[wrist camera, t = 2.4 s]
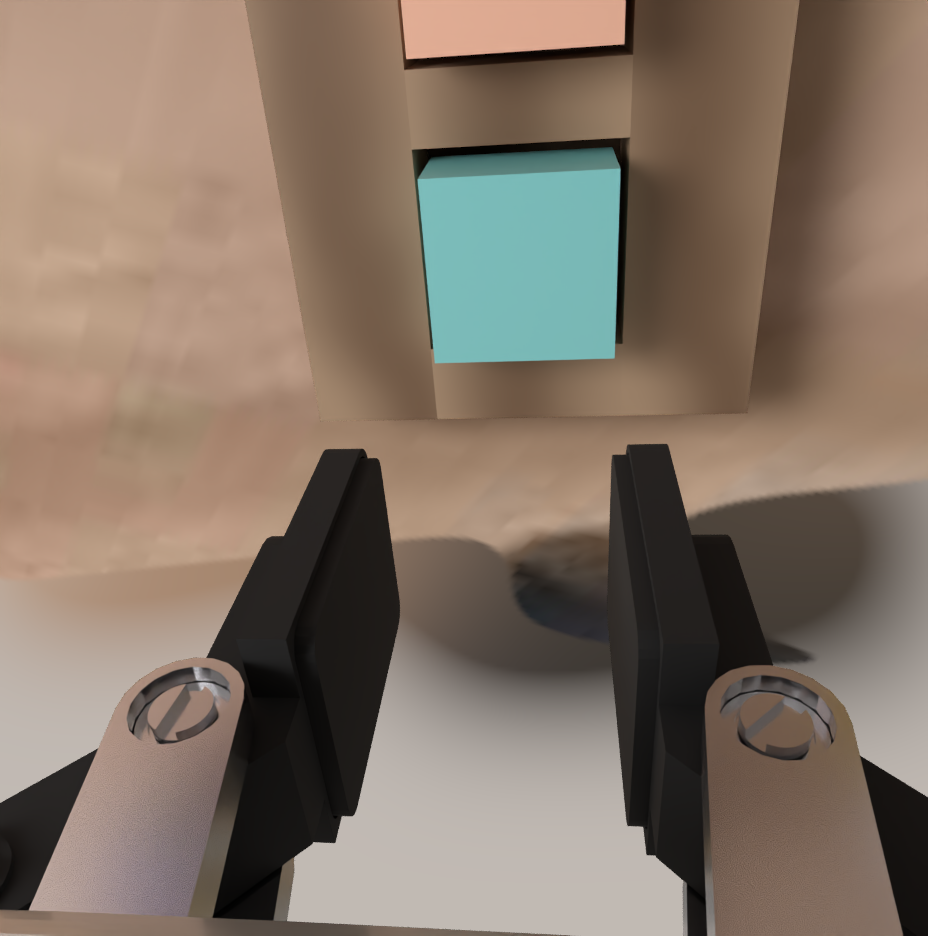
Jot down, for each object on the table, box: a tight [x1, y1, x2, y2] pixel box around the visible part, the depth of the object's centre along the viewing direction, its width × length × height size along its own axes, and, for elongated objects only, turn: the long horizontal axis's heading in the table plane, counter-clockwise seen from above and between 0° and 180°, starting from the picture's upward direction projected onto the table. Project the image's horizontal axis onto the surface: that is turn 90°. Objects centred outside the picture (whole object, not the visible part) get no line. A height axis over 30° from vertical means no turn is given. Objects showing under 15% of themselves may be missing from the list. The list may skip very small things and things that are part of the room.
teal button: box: [418, 147, 620, 363], centre depth 23 cm, size 5×5×3 cm
